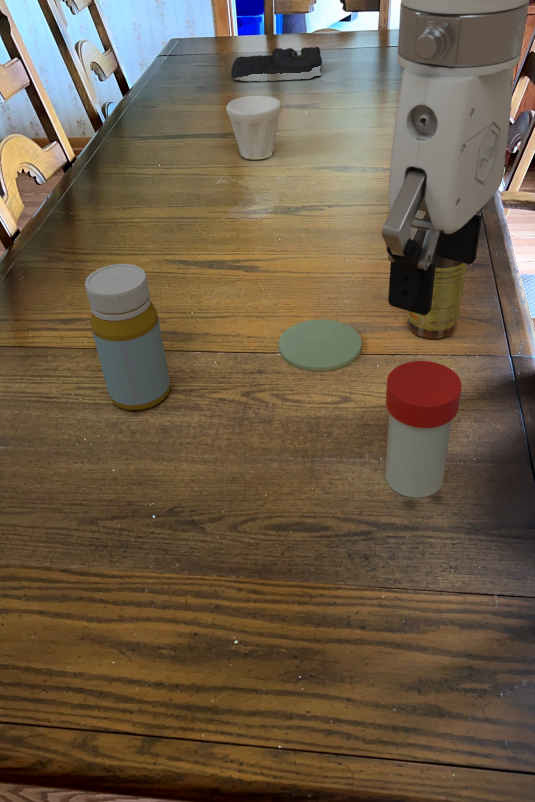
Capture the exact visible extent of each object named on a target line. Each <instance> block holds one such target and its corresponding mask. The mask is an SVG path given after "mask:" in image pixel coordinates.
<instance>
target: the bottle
mask: <svg viewBox="0 0 535 802" xmlns="http://www.w3.org/2000/svg"><path fill="white" fill-rule="evenodd" d="M84 282H85V283H84V288H85V292H86V296H87V299H88V304H89V306H90V309H91V315H90V328H91V332H92V337H93V340H94V345H95V347H96V352H97V355H98V358H99V359H98V360H99V363H100V366H101V371H102V375H103V379H104V384H105V387H106V391H107V394H108V397H109V399H110V401H111V402H112V403H113V404H114V405H115V406H117V407H119V408H121V409H122V410H126V411H130V412H139V411H145V410H149V409H152V408H154V407H156V406H157V405H159V404H161V403H162V401H163V400H164V399H166V397H167V396H168V395H169V393H170V390H171V380H170V379H171V378H170V374H169V368H168V362H167V357H166V352H165V347H164V341H163V336H162V330H161V325H160V318H159V314H158V310H157V308H156V307H155V305H154V304H153V302H152V300H151V299H152V298H151V294H150V287H149V282H148V277H147V274H146V272H145V270H144V269H143V268H141V267H140V266H138V265H135V264H130V263H114V264H110V265H106V266H102V267H100V268H97V269H95V270H94V271H93V272H91V273H90V274H88V276H87V277H86V278H85V281H84Z"/></svg>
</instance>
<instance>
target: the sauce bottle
mask: <svg viewBox="0 0 535 802" xmlns="http://www.w3.org/2000/svg"><path fill="white" fill-rule="evenodd" d="M423 220H427V221H431V219H430V216H429V213H428V212H425V213H424V214H423ZM426 232H427V231H425V230H421V229H418V230H417V232H416V234H415V236H414V239H413V240H415V241H416V242H417V243H418V245H419V246H420V247H421V249H422V246H423V242H424V239H425V236H426ZM436 248H437V244H436V247H435V250H434V253H433V257H432V260H431V264H435V265H436V269H435V279H434V288H433V297H432V306H431V311H430V312H429V313H428V314H427V315H420V314H417V313H413V312H410V311H406V317H407V325H408V328H409V329H410V331H411V332H412V334H414V335H415V336H418V337H422V338H425V339H428V340H429V339H432V340H436V339H437V340H439V339H445V338H447V337H449V336H451V335H452V334H453V333H454V331H455V330H456V328H457V326H458V322H459V320H460V315H461V313H460V312H461V307H462V306H461V305H462V300H463V295H464V286H465V279H466V272H467V267H468V266H467V265H468V264H466V263H462V262H458V261H454V260H450V259H446V258H442V257H439V256H437V254H436Z"/></svg>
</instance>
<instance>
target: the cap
mask: <svg viewBox="0 0 535 802" xmlns="http://www.w3.org/2000/svg"><path fill="white" fill-rule="evenodd" d="M462 384H463V383H462V381H461V377H460V376H459V375H458V373H457V372H455V371H454V370H453V369H452V368H450V367H448V366H446V365H445V364H441V363H438V362H434V361H428V360H412V361H408V362H404V363H401V364H399V365H397V366H396V367H394V368H393V369H392V370H391V371H390V372H389V373H388V376H387V378H386V389H385V407H386V410H387V412H388V414H389V413H390V414H391V415H392V416H393V417H394V418H395V419H396V420H398V421H399V422H401V423H403V424H406V425H409V426H412V427H418V428H433V427H438V426H441V425H444V424H446V423H448V422H450V421H451V420H452V419H453V420H454V419H455V418H456V416H457V414H458V413H459V408H460V402H461V395H462V386H463V385H462ZM453 420H452V421H453Z"/></svg>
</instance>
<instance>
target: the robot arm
mask: <svg viewBox="0 0 535 802" xmlns="http://www.w3.org/2000/svg"><path fill="white" fill-rule="evenodd" d="M399 7H400V8H399V25H398V40H397V41H398V42H397V55H396V57H397V58H396V59H397V60H396V61H397V64H398V65H399V66H400V68H401V67H402V68H403V71H402V76H401V82H400V87H399V93H398V99H397V100H398V101H397V107H396V115H395V122H394V129H393V136H392V145H391V146H392V147H391V154H390V155H391V156H390V167H389V181H388V215H387V218H386V219H385V222H384V223H383V226H382V229H381V235H382V238H383V240H384V243H385V246H386V247H385V248H386V252H387V254H388V255H387V259H388V262H390V267H389V283H388V299H387V303H388V305H390V306H391V307H393V308H396V309H400V310H404V311H406V312H407V311H410V312H413V313H417V314H420V315H427V314H428V313H429V312H430V311H431V306H432V297H433V288H434V279H435V269H436V265H435V264H431V260H432V257H433V253H434V250H435V247H436V244H437V248H436V254H437V256H439V257H442V258H446V259H450V260H454V261H458V262H462V263H466V264H467V265H472V264H474V262H475V261H476V259H477V255H478V249H479V248H478V247H479V240H480V235H481V228H482V221H483V216H482V213H483V211H484V209H485V206H486V204H487V203H488V202H489V201H490V199H491V198H492V197H493V196H495V194H496V193H497V192H498V190H499V188H500V187H501V185H502V182H503V178H504V172H505V171H504V170H505V164H506V155H507V148H508V147H507V146H508V140H509V139H508V138H509V129H510V122H511V121H510V120H511V111H512V101H513V89H514V88H513V87H514V71H515V70H514V69H515V68H516V67H517V66H519V64H520V62H521V55H522V49H523V43H524V37H525V31H526V25H527V19H528V14H529V13H528V12H529V7H530V0H400V6H399ZM418 210H420V211H423V213H424V212H425V213H426V212H428V213H429V216H430V219H431V221H427V220H423V219H418V218H414V217H415V215H416V213H417V211H418ZM410 227H412V228H416V229H421V230H425V231H427V232H426V236H425V239H424V242H423V246H422V249H421V247H420V246H419V245H418V243H417V242H416V241H415V240H411V238H410V237H411V233H410Z"/></svg>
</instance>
